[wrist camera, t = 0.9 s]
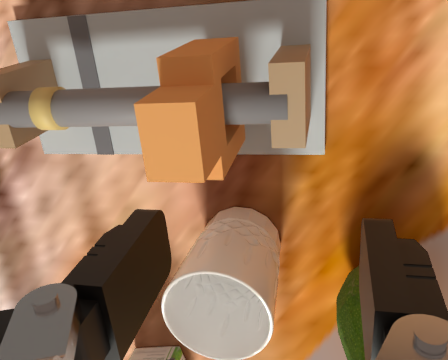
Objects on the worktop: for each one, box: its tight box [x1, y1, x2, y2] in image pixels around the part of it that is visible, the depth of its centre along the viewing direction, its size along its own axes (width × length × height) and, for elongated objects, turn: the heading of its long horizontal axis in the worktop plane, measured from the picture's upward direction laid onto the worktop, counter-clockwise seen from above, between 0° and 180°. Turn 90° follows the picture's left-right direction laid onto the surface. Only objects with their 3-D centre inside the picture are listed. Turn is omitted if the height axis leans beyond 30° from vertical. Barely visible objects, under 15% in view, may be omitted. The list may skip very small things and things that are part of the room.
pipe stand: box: [0, 0, 327, 155], centre depth 30 cm, size 24×11×8 cm, turn 95°
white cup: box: [161, 207, 281, 360], centre depth 34 cm, size 8×8×10 cm
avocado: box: [337, 266, 365, 360], centre depth 31 cm, size 8×8×12 cm
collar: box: [134, 37, 245, 183], centre depth 25 cm, size 3×7×10 cm, turn 5°
